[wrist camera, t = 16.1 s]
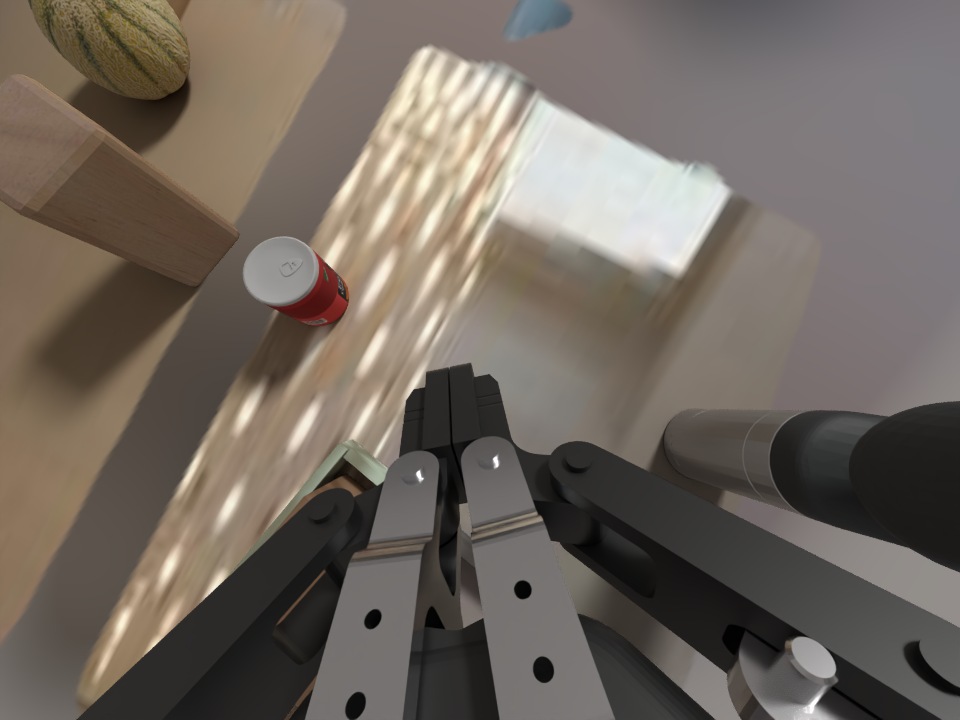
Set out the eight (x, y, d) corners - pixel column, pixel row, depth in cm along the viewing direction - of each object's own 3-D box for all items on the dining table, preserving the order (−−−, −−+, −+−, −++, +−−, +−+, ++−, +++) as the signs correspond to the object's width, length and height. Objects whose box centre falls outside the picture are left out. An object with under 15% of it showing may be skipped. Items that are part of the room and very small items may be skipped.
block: (198, 291, 49) (14, 214, 29) (142, 251, 50) (-76, 149, 30) (246, 235, 50) (98, 124, 31) (190, 196, 51) (10, 62, 31)
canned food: (362, 297, 50) (331, 266, 39) (320, 339, 49) (276, 320, 38) (323, 261, 50) (281, 220, 39) (281, 302, 49) (226, 272, 38)
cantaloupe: (138, 24, 54) (12, -120, 39) (230, 51, 54) (137, -85, 39) (96, 108, 52) (-53, -10, 38) (191, 136, 52) (78, 29, 37)
